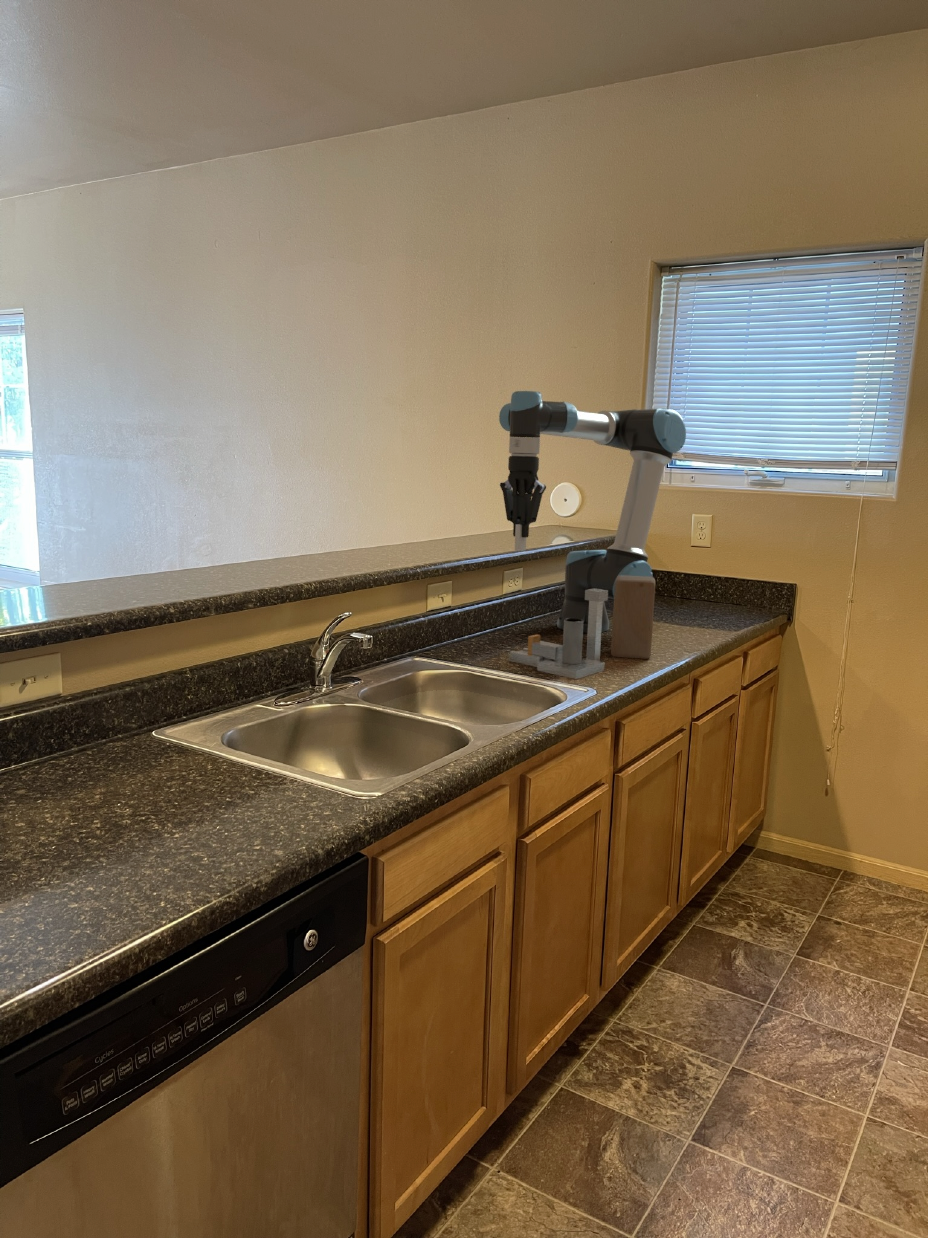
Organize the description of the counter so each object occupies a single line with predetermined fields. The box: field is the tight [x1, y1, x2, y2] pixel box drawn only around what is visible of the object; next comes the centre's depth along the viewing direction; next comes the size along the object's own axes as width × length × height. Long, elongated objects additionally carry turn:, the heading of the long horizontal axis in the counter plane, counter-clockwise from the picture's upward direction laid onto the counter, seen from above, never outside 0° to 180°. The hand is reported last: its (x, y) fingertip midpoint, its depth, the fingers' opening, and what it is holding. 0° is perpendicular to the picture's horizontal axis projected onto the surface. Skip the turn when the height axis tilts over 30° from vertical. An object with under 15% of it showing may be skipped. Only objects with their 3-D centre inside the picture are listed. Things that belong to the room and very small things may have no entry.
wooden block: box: [610, 575, 656, 660], centre depth 235 cm, size 10×10×20 cm
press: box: [509, 588, 609, 680], centre depth 222 cm, size 18×22×18 cm
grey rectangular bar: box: [527, 634, 563, 660], centre depth 222 cm, size 3×8×4 cm, turn 49°
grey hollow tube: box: [562, 618, 584, 664], centre depth 217 cm, size 4×4×10 cm
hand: (520, 550), depth 231 cm, fingers closed
